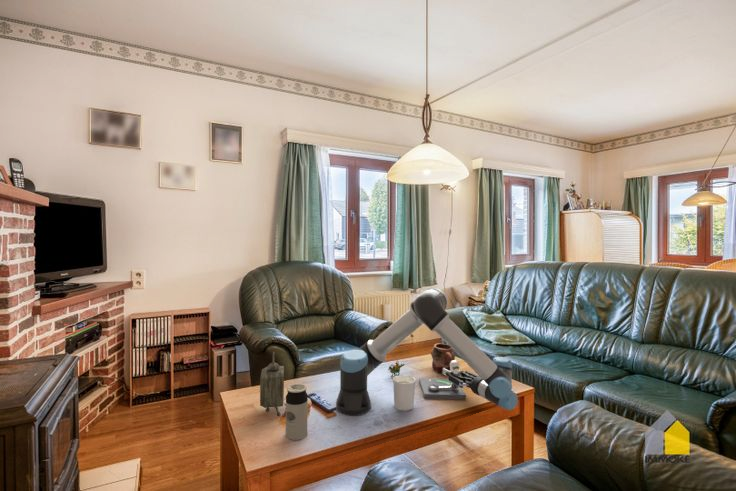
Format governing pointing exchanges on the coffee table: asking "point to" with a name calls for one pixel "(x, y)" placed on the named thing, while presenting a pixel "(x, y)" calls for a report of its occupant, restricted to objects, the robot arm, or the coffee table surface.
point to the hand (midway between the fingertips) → (447, 370)
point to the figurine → (395, 368)
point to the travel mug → (296, 411)
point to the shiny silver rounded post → (455, 369)
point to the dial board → (442, 392)
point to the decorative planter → (442, 357)
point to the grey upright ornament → (272, 386)
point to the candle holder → (404, 392)
